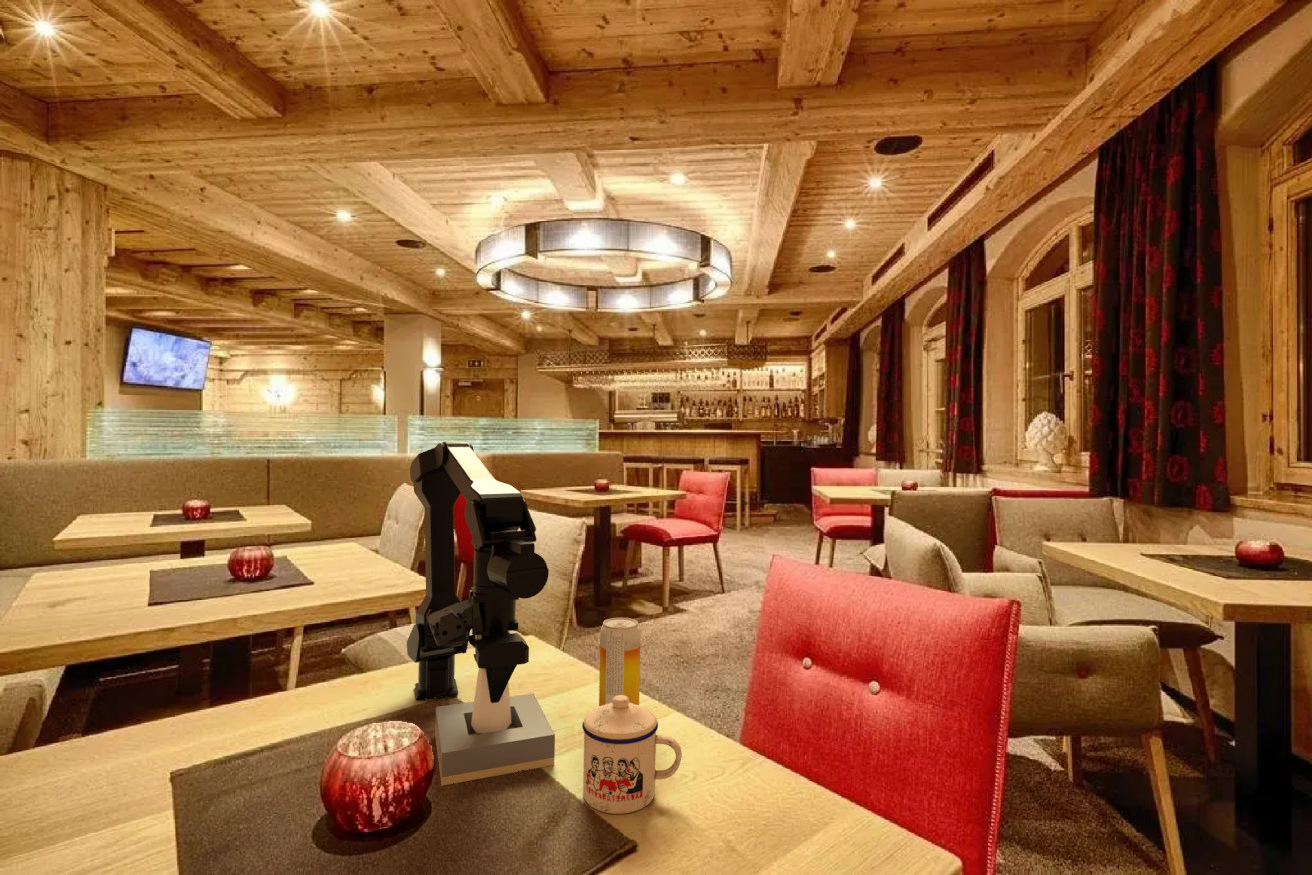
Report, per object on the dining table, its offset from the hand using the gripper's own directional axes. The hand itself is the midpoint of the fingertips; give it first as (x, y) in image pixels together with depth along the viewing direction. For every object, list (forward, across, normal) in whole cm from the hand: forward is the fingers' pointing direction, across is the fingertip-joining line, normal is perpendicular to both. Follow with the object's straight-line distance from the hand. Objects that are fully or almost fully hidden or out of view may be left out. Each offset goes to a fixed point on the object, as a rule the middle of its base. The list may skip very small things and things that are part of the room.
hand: (492, 696), depth 86 cm
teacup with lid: (+7, +17, +14) cm, 23 cm away
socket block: (+7, 0, 0) cm, 7 cm away
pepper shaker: (+4, -1, 0) cm, 4 cm away
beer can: (+7, -2, +19) cm, 20 cm away
